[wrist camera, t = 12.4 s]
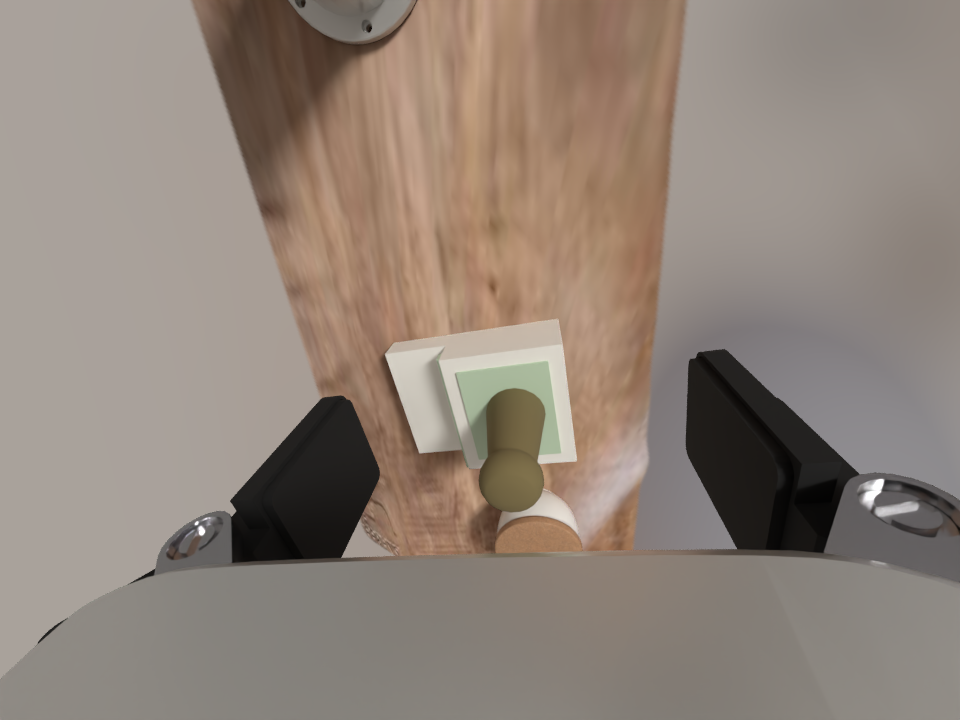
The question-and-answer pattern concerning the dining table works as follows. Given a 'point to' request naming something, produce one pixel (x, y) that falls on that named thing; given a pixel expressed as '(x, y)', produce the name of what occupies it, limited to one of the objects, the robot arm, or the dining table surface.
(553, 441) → the platform
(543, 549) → the lidded jar
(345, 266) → the dining table surface
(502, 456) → the cork
